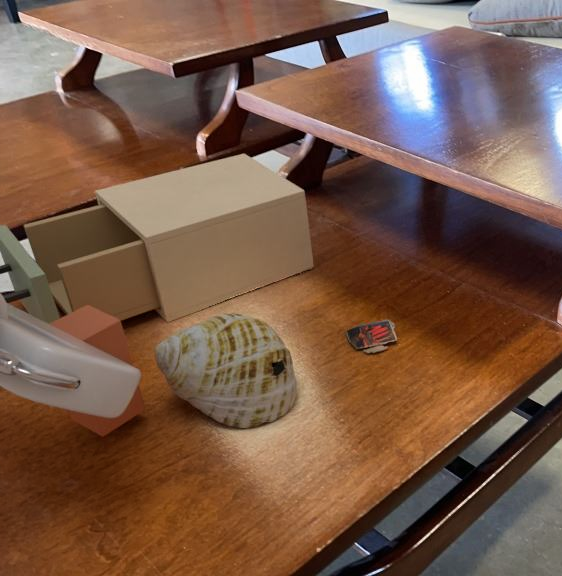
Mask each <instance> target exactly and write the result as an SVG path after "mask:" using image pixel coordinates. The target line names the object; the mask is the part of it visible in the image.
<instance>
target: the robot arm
mask: <svg viewBox="0 0 562 576" xmlns="http://www.w3.org/2000/svg"><path fill="white" fill-rule="evenodd" d="M3 296H4V295H3V294H2V293H1V292H0V387H1V388H2V389H4V390H6V391H8V392H10V393H11V394H13V395H15V396H18V397H21V398H23V399H26V400H29V401H32V402H35V403H38V404H42V405H46V406H49V407H54V408H58V409H63V410H71V411H76V412H80V413H85V414H90V415H94V416H99V417H104V418H116V417H119V416H121V415H122V414H123V413H124V412H125V410H126V408H127V407H128V405H129V403H130V401H131V399H132V397H133V395H134V393H135V391H136V389H137V386H138V384H139V385H140V381H141V379H142V372H141V371H140V369H138V367H135V366H134V365H133V366H134V367H133V366H131V365H129V364H127V363H125V362H123V361H121V360H119V359H117V358H115V357H113V356H111V355H109V354H107V353H105V352H103V351H101V350H99V349H97V348H95V347H93V346H91V345H89V344H87V343H85V342H84V341H82V340H80V339H78V338H76V337H74V336H72V335H70V334H68V333H66V332H64V331H62V330H60V329H58V328H56V327H54V326H52V325H50V324H48V323H46V322H44V321H42V320H40V319H38V318H36V317H34V316H32V315H30V314H29V313H28V312H26V311H24V310H22V309H21V308H18V307H16V306H14V305H12V304H10V303H6V301H5V299H4V297H3Z"/></svg>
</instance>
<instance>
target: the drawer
mask: <svg viewBox="0 0 562 576" xmlns="http://www.w3.org/2000/svg"><path fill="white" fill-rule="evenodd" d="M23 228H24V231H25V234H26V237H27V240H28V243H29V247H30V249H31V252H32V255H33V256H31V255H30V253H29V252H28V251H27V250H26V248H25V247H24V246H23V245H22V243H21V242H20V241H19V240H18V238H17V237H16V236H15V235H14V233H13V231H11V230H10V228H9V227H8V226H7V224H3V225H0V254H1V258H2V261H3V263H4V264H2V265H0V275H3V274H8V277H9V279H10V282H11V285H12V288H13V290H14V292H11V293H7V294H4V295H2V296H3V297H4V299H5V301H6V303H8V304H10V303H14V302H17V301H19V302H20V303H21V305H22V306H23V307H24V309H25V310H26V311H27V313H28V314H30V315H32V316H34V317H36V318H38V319H40V320H42V321H44V322H46V323H48V324H50V323H52V322H54V321H56V320H58V319H60V318H61V317H60V314H59V311H58V309H57V306H58V307H59V308H60V310H61V311H62V312H63V313H64V315H65V316H66V315H68V314H70V313H72V312H74V311H76V310H78V309H80V308H82V307H84V306H86V305H89V306H91V307H94V308H96V309H98V310H100V311H102V312H104V313H106V314H108V315H111V316H113V317H115V318H117V319H119V320H120V321H121V322H122V321H125V320H127V319H129V318H132V317H136V316H138V315H141V314H144V313H146V312H150V311H153V310H155V308H158V307H161V305H160V301H159V297H158V293H157V289H156V285H155V282H154V278H153V274H152V270H151V266H150V262H149V258H148V254H147V250H146V246H145V241H143V240H142V239H141V238H140V237H139V236H138V235H137V234H136V233H135V232H134V231H133V230H131V229H130V228H129V227H128V226H127V225H126V224H125V223H124V222H123V221H122V220H121V219H120V218H118V217H117V216H116V215H115V214H114V213H113V212H112V211H111V210H110V209H109V208H108V207H107V206H105V205H104V204H102V205H98V204H97V205H93V206H91V207H87V208H82V209H80V210H75V211H71V212H68V213H64V214H60V215H56V216H52V217H47V218H45V219H41V220H37V221H33V222H29V223H25V224H23ZM33 257H34V258H33ZM56 304H57V305H56Z"/></svg>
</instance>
